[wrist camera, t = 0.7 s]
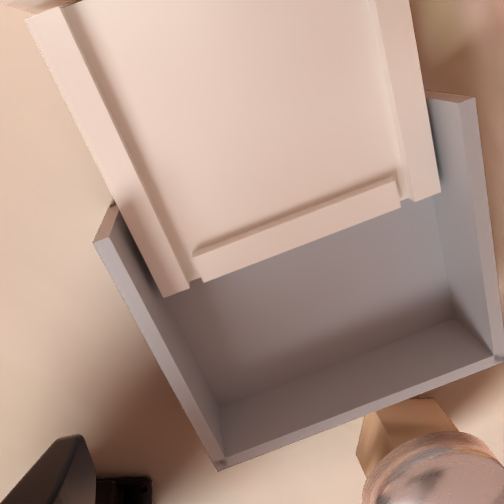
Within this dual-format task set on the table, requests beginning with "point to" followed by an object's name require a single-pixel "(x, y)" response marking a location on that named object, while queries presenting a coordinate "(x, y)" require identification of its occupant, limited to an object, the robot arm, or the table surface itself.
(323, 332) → the housing
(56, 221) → the table surface
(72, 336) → the table surface
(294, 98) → the tray
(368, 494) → the disc
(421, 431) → the pedestal
